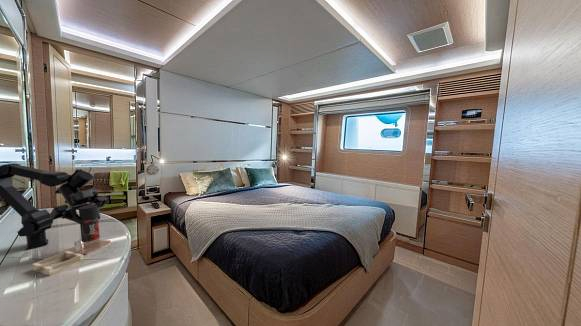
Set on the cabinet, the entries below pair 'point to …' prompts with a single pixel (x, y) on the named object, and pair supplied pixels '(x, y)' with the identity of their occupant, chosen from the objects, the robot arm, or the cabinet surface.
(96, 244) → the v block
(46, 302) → the cabinet surface
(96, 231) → the deodorant
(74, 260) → the beige square frame
